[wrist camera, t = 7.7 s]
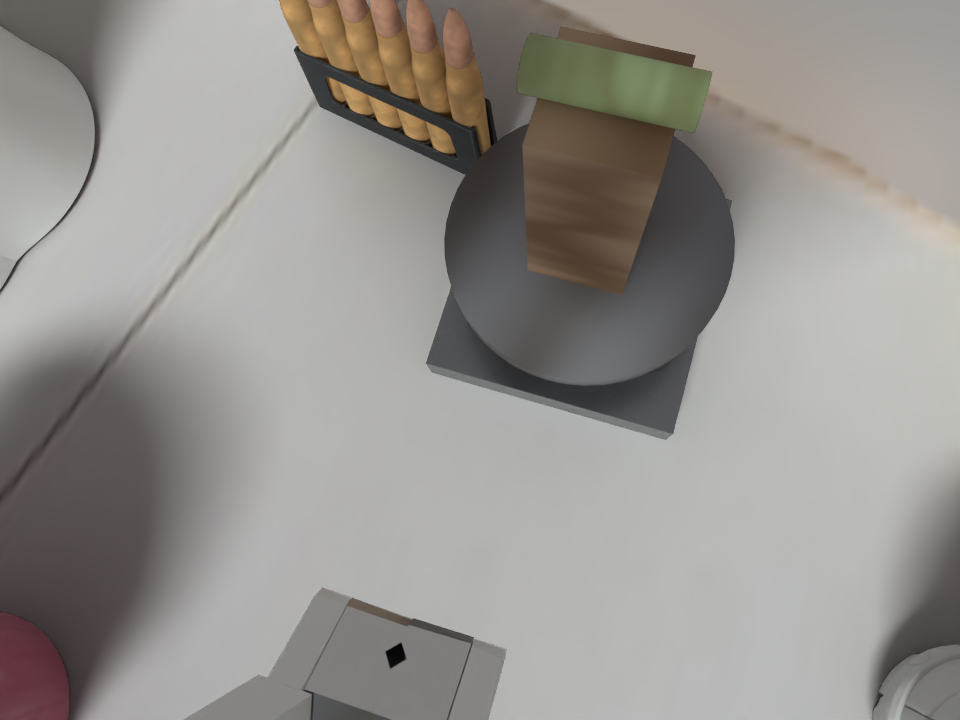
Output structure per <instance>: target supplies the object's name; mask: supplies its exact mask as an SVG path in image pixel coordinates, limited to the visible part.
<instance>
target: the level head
mask: <svg viewBox="0 0 960 720" xmlns="http://www.w3.org/2000/svg"><path fill="white" fill-rule="evenodd" d="M694 59H695V55H692V54H687V53H682V52H677V51H673V50H668V49H664V48H659V47H654V46H649V45H645V44H640V43H635V42H630V41H626V40H621V39H616V38H612V37H607V36H602V35H597V34H593V33H588V32H583V31H578V30H574V29H569V28H564V27H561V28H560V31H559V34H558V37H557V38H552V37H547V36H543V35H538V34H533V33H530V34H529V35H528V37H527V39H526V42H525V45H524V48H523V51H522V55H521V59H520V64H519V69H518V76H517V92H518V93H519V94H523V95H528V96H532V97H537V98H538V99H537V102H536V105H535V108H534V111H533V114H532V117H531V120H530V123H529V124H527V125H524V126H522V127H520V128H518V129H516V130H514V131H513V132H511V133H509V134H508V135H506V136H504V137H503V138H501V139H500V140H499V141H498V142H496V143H495V144H494V145H492V146H491V147H490V148H489V149H488V150H487V151H486V152H485V153H484V154H483V155H482V156H481V157H480V158H479V159H478V160H477V161H476V162H475V163H474V165H473V166H472V167H471V169H470V170H469V171H468V172H467V174H466V175H465V177H464V179H463V181H462V182H461V184H460V186H459V187H458V189H457V192H456V194H455V196H454V199H453V201H452V204H451V207H450V211H449V214H448V218H447V222H446V231H445V260H446V266H447V273H448V276H449V279H450V283H451V286H452V289H453V292H454V295H455V298H456V301H457V303H458V305H459V307H460V309H461V311H462V313H463V315H464V317H465V318H466V320H467V322H468V323H469V325H470V326H471V328H472V329H473V331H474V332H475V333H476V334H477V335H478V336H479V338H480V339H481V340H482V341H483V342H484V343H485V344H486V345H487V346H488V347H489V348H490V349H491V350H492V351H494V352H495V353H496V354H497V355H498V356H500V357H501V358H503V359H504V360H506V361H507V362H508V363H510V364H511V365H513V366H515V367H517V368H519V369H521V370H523V371H525V372H527V373H529V374H531V375H534V376H537V377H540V378H542V379H545V380H549V381H553V382H558V383H563V384H570V385H581V386H592V385H607V384H613V383H618V382H624V381H627V380H630V379H633V378H637V377H640V376H642V375H645V374H647V373H649V372H651V371H653V370H656V369H658V368H659V367H661V366H663V365H664V364H666V363H667V362H669V361H671V360H672V359H674V358H675V357H676V356H677V355H679V354H680V353H681V352H682V351H683V350H685V349H686V348H687V347H688V346H689V345H690V344H691V343H692V342H693V341H694V340H695V338H696V337H697V336H698V335H699V334H700V333H701V332H702V330H703V329H704V328H705V326H706V325H707V324H708V322H709V321H710V319H711V318H712V316H713V315H714V314H715V312H716V311H717V309H718V307H719V305H720V303H721V301H722V299H723V297H724V295H725V293H726V290H727V287H728V284H729V280H730V277H731V273H732V267H733V262H734V244H735V239H734V230H733V222H732V218H731V215H730V211H729V207H728V204H727V202H726V199H725V197H724V194H723V192H722V190H721V188H720V186H719V184H718V183H717V181H716V179H715V178H714V176H713V174H712V173H711V172H710V170H709V169H708V168H707V166H706V165H705V164H704V163H703V161H702V160H701V159H700V158H699V157H698V156H697V155H696V154H695V153H694V152H693V151H692V150H691V149H690V148H689V147H688V146H686V145H685V144H684V143H682V142H681V141H680V140H678V139H677V138H676V137H674V136H673V135H674V131H675V129H678V130H682V131H686V132H691V133H694V132H695V129H696V127H697V124H698V121H699V118H700V115H701V112H702V109H703V105H704V102H705V99H706V95H707V92H708V88H709V85H710V81H711V77H712V72H711V71H706V70H702V69H697V68H692V66H693V63H694Z"/></svg>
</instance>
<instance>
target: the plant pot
mask: <svg viewBox="0 0 960 720" xmlns="http://www.w3.org/2000/svg"><path fill="white" fill-rule="evenodd" d="M69 708H70V693H69V682H68V677H67V672H66V669H65V667H64V664H63V661H62V658H61V657H60V655H59V653H58V651H57V649H56V648H55V646H54V645H53V643H52V642H51V641H50V639H49V638H48V637H47V636H46V635H45V634H44V633H43V632H42V631H41V630H40V629H39V628H38V627H36V626H35V625H33V624H32V623H30V622H28V621H27V620H25V619H23V618H21V617H18V616H15V615H12V614H9V613H4V612H0V720H68V716H69Z"/></svg>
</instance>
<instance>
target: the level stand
mask: <svg viewBox="0 0 960 720" xmlns="http://www.w3.org/2000/svg"><path fill="white" fill-rule="evenodd" d="M726 202H727V204H728V207H729V211H730V207H731V203H732V200H728V199H726ZM697 337H698V336H697ZM697 337H696V338H695V340H694V341H693V342H692V343H691V344H690V345H689V346H688V347H687V348H686V349H685V350H683V351H682V352H681V353H680V354H679V355H677V356H676V357H675V358H674V359H672V360H671V361H669V362H667V363H666V364H664V365H663V366H661V367H659V368H658V369H656V370H653V371H651V372H649V373H647V374H645V375H642V376H640V377H637V378H633V379H630V380H627V381H624V382H618V383H613V384H607V385H592V386H581V385H570V384H563V383H558V382H553V381H549V380H545V379H542V378H540V377H537V376H534V375H531V374H529V373H527V372H525V371H523V370H521V369H519V368H517V367H515V366H513V365H511V364H510V363H508V362H507V361H506V360H504V359H503V358H501V357H500V356H498V355H497V354H496V353H495V352H494V351H492V350H491V349H490V348H489V347H488V346H487V345H486V344H485V343H484V342H483V341H482V340H481V339H480V338H479V336H478V335H477V334H476V333H475V332H474V331H473V329H472V328H471V326H470V325H469V323H468V322H467V320H466V318H465V317H464V315H463V313H462V311H461V309H460V307H459V305H458V303H457V301H456V298H455V295H454V292H453V289H452V286H451V289H450V292H449V295H448V298H447V301H446V304H445V307H444V310H443V313H442V317H441V320H440V323H439V326H438V329H437V332H436V335H435V338H434V341H433V344H432V347H431V350H430V353H429V356H428V359H427V362H426V364H427V366H428V367H429V369H430V370H431V372H433V373H436V374H440V375H443V376H447V377H450V378H454V379H457V380H461V381H464V382H467V383H471V384H474V385H478V386H481V387H485V388H488V389H492V390H495V391H499V392H502V393H506V394H509V395H513V396H516V397H520V398H523V399H527V400H530V401H533V402H537V403H540V404H544V405H547V406H551V407H554V408H558V409H561V410H565V411H568V412H572V413H575V414H579V415H582V416H586V417H589V418H592V419H596V420H599V421H603V422H606V423H610V424H613V425H617V426H620V427H624V428H627V429H631V430H634V431H638V432H641V433H645V434H648V435H651V436H655V437H658V438H662V439H665V440H666V439H667V438H668V437H670V436H671V435H672V434H673V432H674V428H675V424H676V420H677V416H678V412H679V408H680V404H681V400H682V396H683V392H684V388H685V384H686V380H687V376H688V372H689V368H690V365H691V361H692V357H693V353H694V349H695V345H696V341H697Z"/></svg>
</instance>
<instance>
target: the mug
mask: <svg viewBox="0 0 960 720" xmlns="http://www.w3.org/2000/svg"><path fill="white" fill-rule="evenodd" d="M879 693H881V694H882V695H884V696H882V697H881V698H880V701H879V703H878V705H877V706H876V707H875V708H874V711H873V720H960V645H947V646H940V647H936V648H932V649H927V650H926V651H924V652H922V653H920V654H913V655H911V656H909V657H907V658H906V659H904V660H902V661H901V662H900V663H899V664H897V665H896V666H895V667H894V668H893V669H892V670H891V671H890V673H889V674H888V676H887V677H886V678H885V680H884V681H883V683H882V685H881V687H880V690H879Z"/></svg>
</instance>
